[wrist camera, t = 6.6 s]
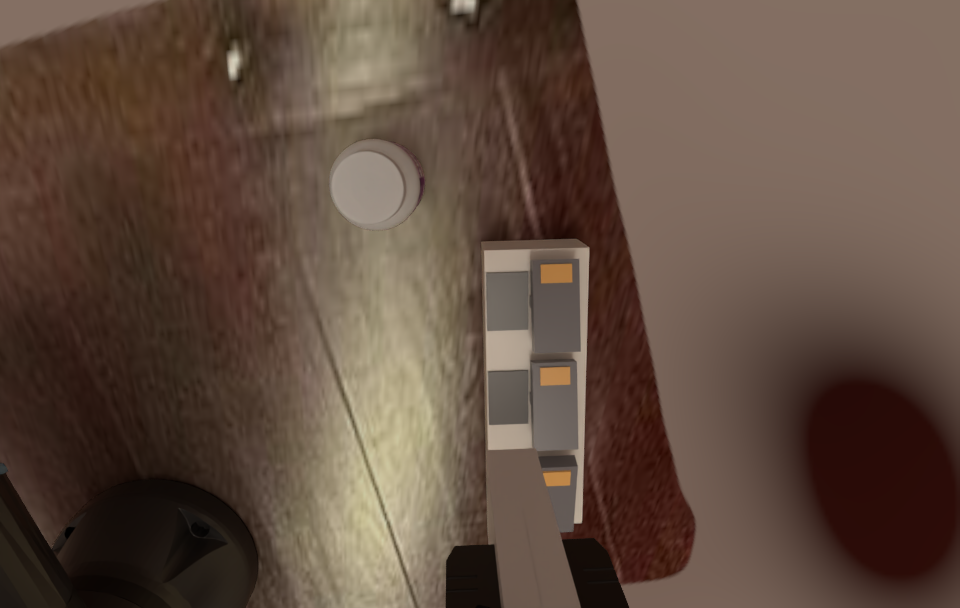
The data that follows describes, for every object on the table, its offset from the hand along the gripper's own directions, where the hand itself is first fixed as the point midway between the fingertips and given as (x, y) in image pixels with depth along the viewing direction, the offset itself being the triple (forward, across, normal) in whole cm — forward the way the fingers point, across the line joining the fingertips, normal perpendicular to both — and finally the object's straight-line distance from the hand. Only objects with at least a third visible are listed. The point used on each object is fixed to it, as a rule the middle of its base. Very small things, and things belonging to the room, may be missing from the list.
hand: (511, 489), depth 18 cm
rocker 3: (+21, +5, -14) cm, 26 cm away
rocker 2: (+21, +5, -7) cm, 23 cm away
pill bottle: (+27, -6, +8) cm, 28 cm away
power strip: (+26, +4, -7) cm, 28 cm away
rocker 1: (+21, +5, 0) cm, 21 cm away
